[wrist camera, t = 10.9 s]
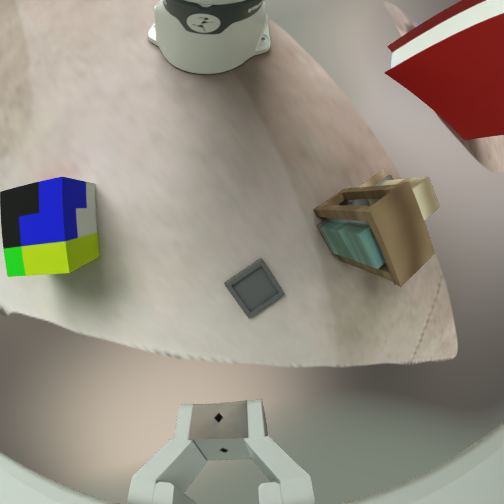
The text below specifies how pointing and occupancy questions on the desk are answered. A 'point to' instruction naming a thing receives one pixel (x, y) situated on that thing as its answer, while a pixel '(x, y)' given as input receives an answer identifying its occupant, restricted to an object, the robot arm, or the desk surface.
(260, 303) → the tray
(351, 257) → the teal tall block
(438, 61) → the book
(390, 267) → the tunnel
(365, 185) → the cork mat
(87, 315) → the desk surface
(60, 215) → the puzzle toy
